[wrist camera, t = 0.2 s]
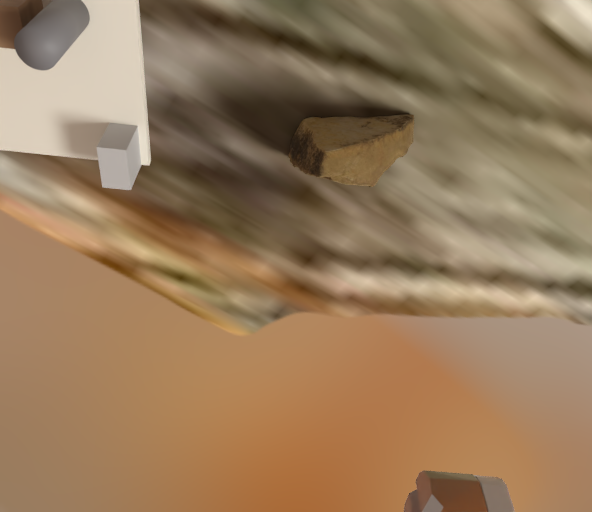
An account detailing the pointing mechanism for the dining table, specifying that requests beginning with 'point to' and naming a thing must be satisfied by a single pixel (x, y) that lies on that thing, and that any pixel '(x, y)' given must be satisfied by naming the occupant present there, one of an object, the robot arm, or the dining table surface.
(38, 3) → the leg
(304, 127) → the rock
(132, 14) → the wall mounted roll holder
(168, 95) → the dining table surface
